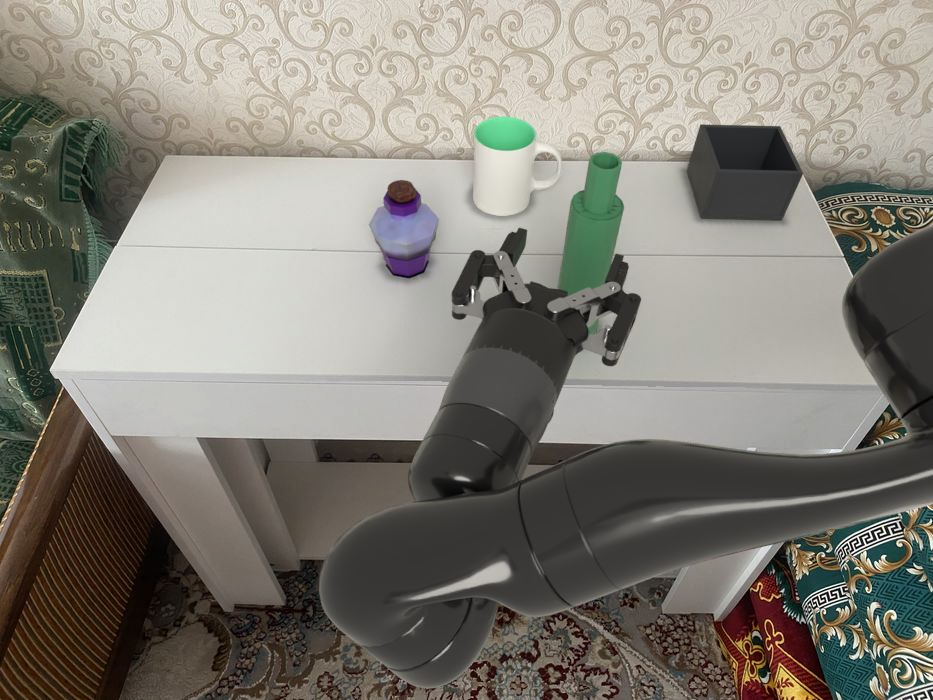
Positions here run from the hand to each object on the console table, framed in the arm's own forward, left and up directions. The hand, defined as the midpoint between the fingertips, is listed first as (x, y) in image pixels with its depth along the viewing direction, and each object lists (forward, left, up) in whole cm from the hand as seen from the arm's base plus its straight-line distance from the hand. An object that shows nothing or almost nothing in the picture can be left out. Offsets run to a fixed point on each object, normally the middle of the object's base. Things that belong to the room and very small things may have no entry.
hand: (569, 248), depth 59 cm
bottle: (0, -11, -21) cm, 24 cm away
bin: (-16, -44, -21) cm, 51 cm away
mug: (+14, -32, -21) cm, 41 cm away
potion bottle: (+23, -14, -21) cm, 34 cm away
